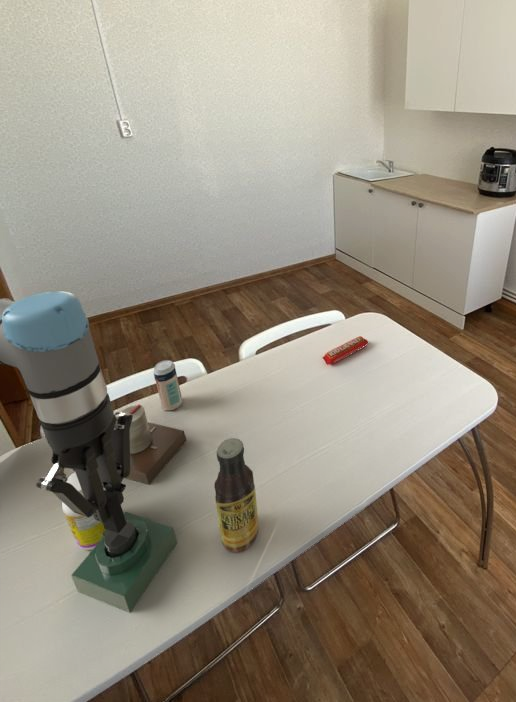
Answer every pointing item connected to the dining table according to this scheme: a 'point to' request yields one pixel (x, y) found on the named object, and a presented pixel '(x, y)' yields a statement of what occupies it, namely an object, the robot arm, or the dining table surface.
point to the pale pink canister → (167, 385)
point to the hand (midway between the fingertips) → (115, 526)
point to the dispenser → (126, 565)
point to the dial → (138, 429)
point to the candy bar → (344, 350)
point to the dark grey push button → (120, 540)
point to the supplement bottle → (83, 523)
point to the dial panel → (155, 453)
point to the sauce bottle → (235, 497)
